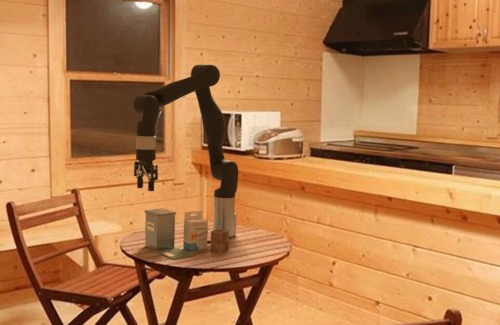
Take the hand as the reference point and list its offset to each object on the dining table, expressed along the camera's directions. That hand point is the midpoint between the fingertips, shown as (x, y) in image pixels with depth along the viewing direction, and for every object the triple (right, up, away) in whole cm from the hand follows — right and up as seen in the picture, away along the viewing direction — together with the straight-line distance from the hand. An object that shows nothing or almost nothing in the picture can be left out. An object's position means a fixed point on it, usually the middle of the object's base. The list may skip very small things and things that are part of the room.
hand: (145, 189), depth 224 cm
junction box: (+4, -23, +7) cm, 25 cm away
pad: (+12, -25, -2) cm, 28 cm away
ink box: (+19, -24, +7) cm, 31 cm away
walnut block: (+28, -25, +5) cm, 38 cm away
